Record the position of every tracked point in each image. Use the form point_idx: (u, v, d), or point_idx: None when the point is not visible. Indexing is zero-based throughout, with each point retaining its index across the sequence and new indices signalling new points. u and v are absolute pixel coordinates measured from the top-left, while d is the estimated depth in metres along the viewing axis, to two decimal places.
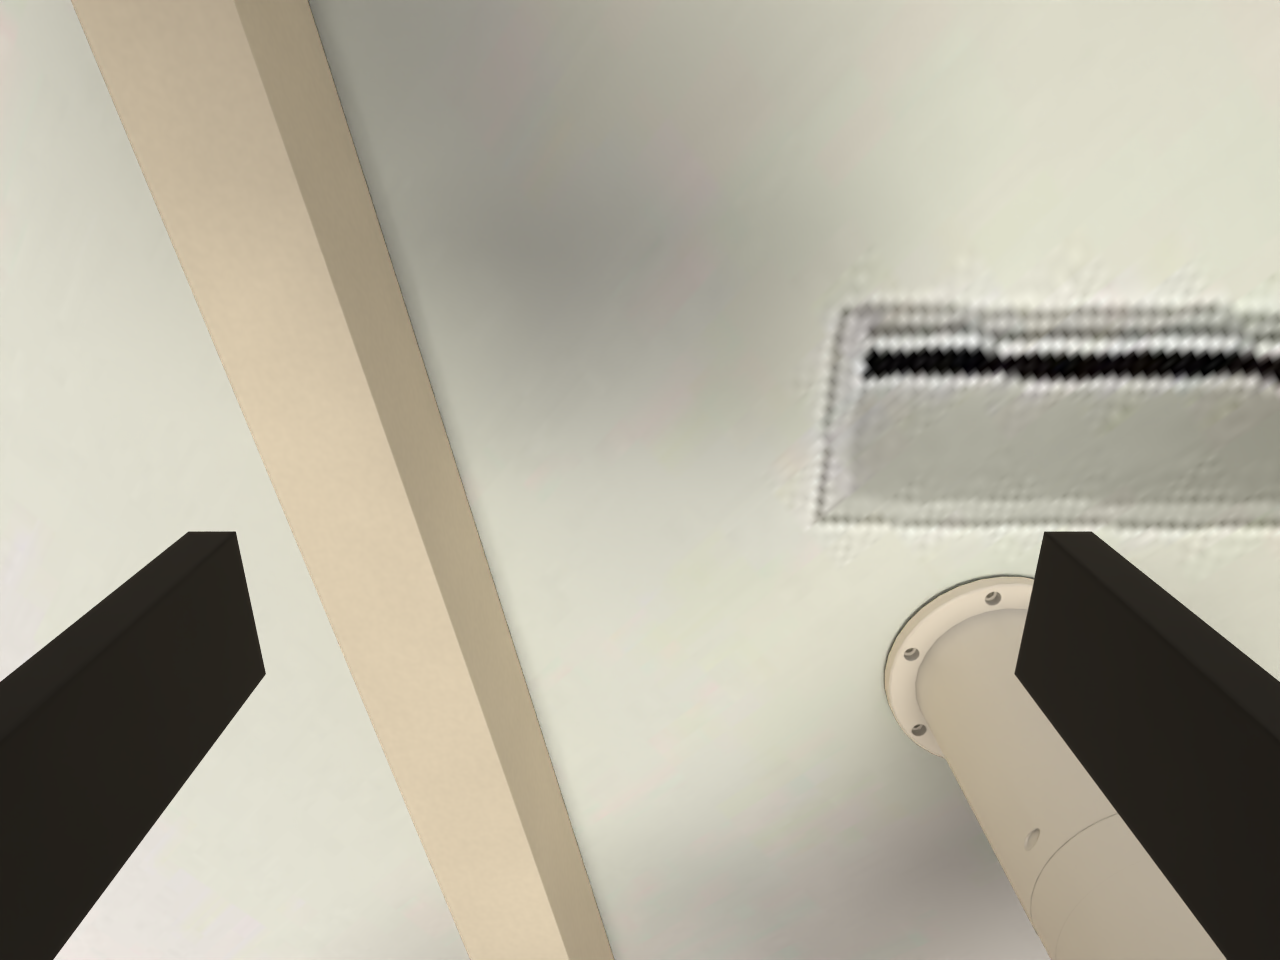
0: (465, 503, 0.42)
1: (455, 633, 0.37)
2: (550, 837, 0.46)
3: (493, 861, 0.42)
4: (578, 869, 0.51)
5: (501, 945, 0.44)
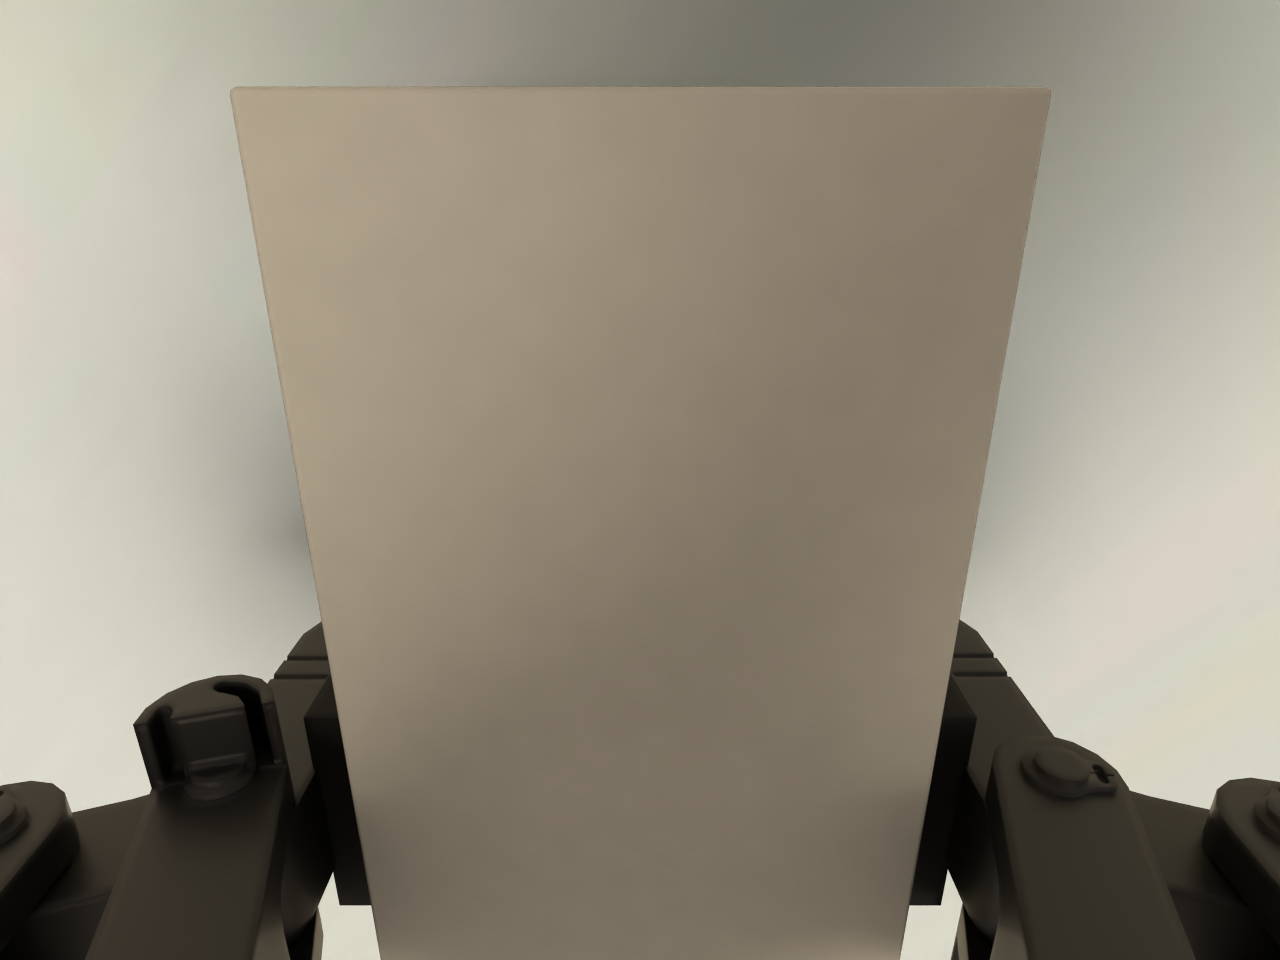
0: None
1: None
2: None
3: None
4: None
5: None
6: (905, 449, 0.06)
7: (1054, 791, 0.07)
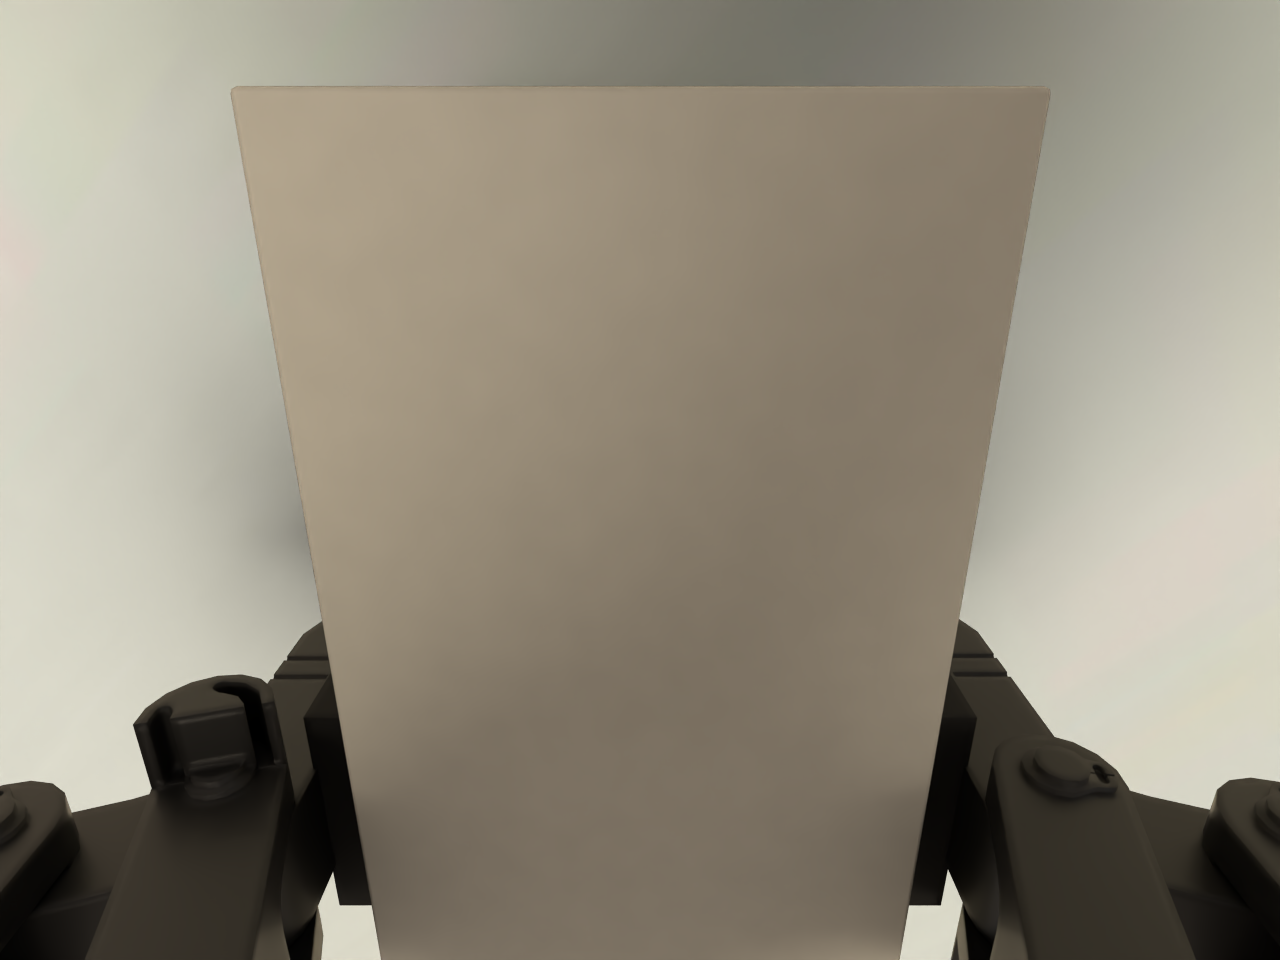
0: None
1: None
2: None
3: None
4: None
5: None
6: (905, 449, 0.06)
7: (1054, 789, 0.07)
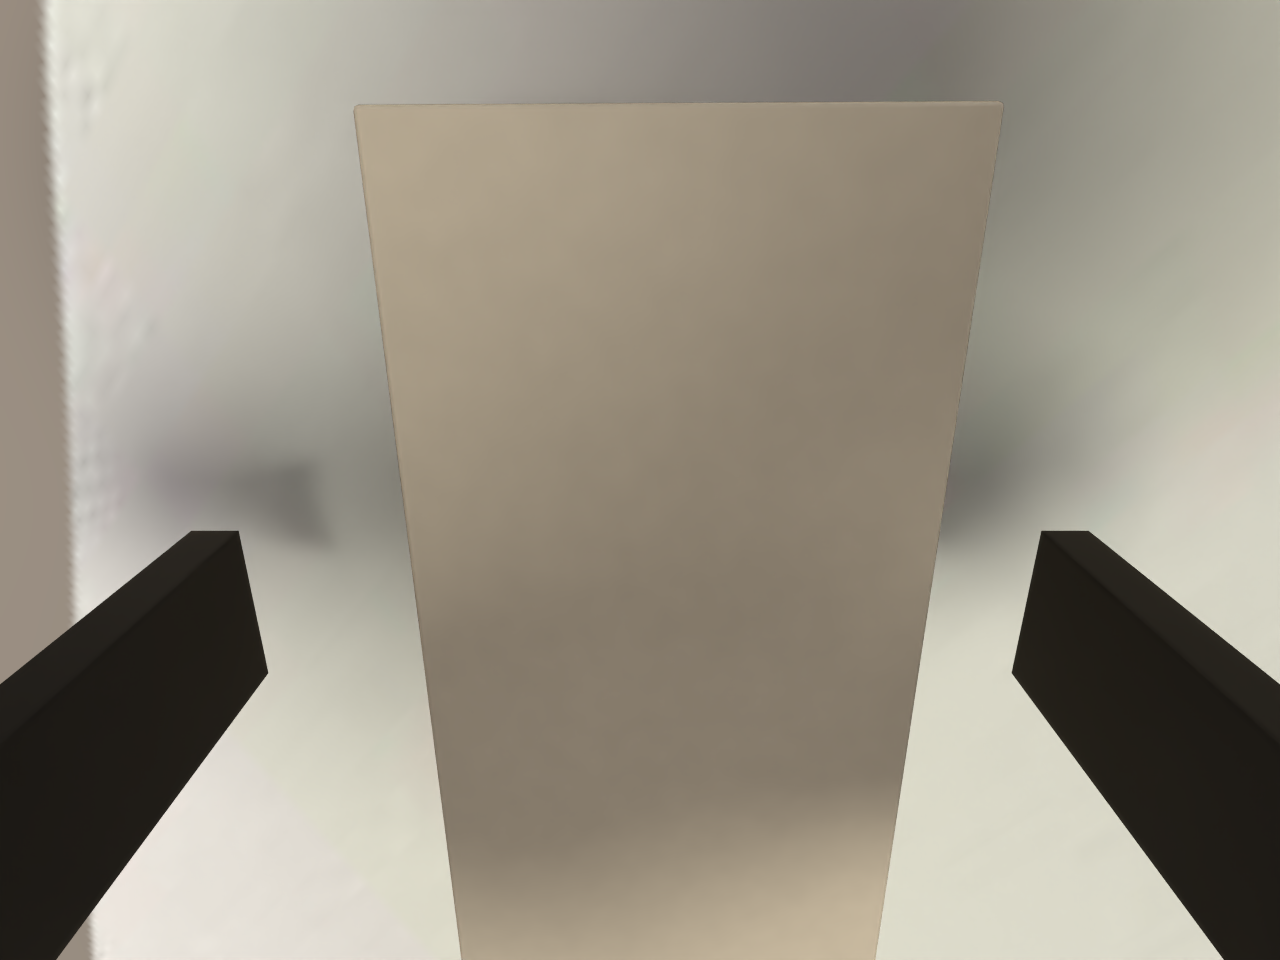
0: None
1: None
2: None
3: None
4: None
5: None
6: (890, 396, 0.08)
7: None
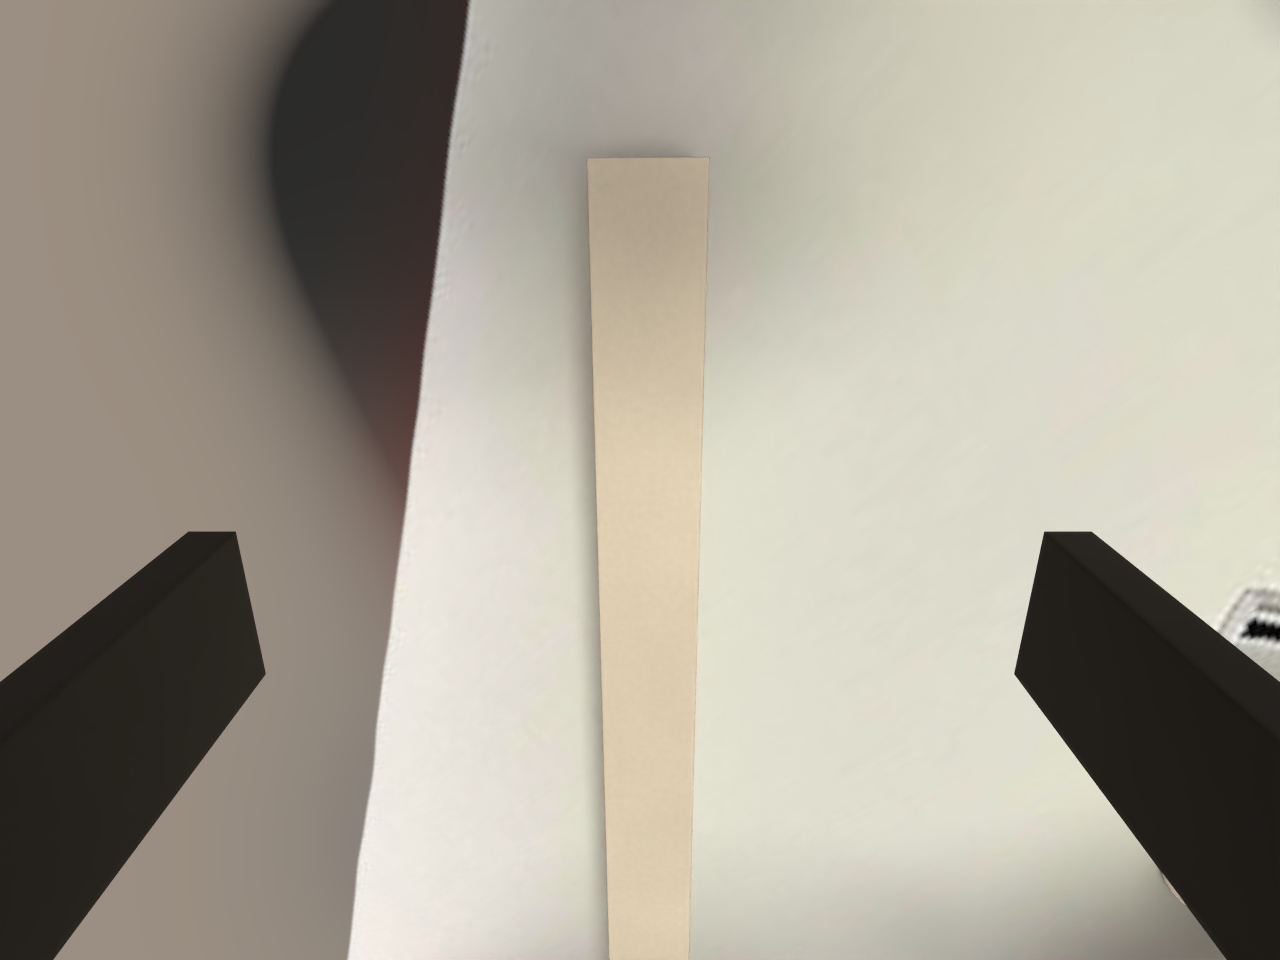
0: None
1: (694, 719, 0.47)
2: None
3: (658, 891, 0.52)
4: None
5: (638, 958, 0.54)
6: (693, 217, 0.36)
7: None
